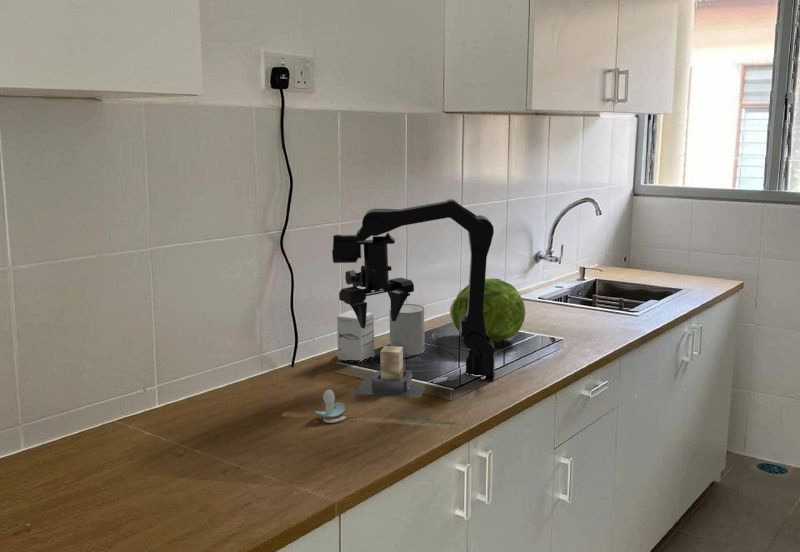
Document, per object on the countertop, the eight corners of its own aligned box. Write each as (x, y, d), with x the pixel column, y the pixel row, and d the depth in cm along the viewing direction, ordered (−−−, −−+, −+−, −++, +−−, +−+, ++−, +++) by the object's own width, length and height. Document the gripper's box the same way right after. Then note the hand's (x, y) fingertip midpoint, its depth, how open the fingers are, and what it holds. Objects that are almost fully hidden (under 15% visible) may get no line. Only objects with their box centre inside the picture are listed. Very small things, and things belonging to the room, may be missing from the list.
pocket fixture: (430, 380, 198) (430, 367, 197) (420, 401, 184) (420, 387, 184) (366, 377, 201) (366, 364, 200) (352, 396, 188) (352, 383, 187)
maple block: (403, 382, 194) (402, 346, 192) (399, 389, 190) (399, 352, 188) (385, 381, 195) (384, 345, 193) (381, 388, 191) (380, 351, 189)
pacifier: (354, 417, 176) (334, 410, 180) (354, 390, 175) (334, 383, 178) (331, 427, 171) (311, 420, 174) (330, 400, 169) (310, 392, 173)
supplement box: (337, 362, 213) (335, 315, 210) (351, 354, 219) (350, 309, 217) (361, 366, 210) (360, 318, 207) (375, 357, 216) (374, 312, 213)
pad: (460, 405, 181) (460, 403, 181) (454, 424, 171) (454, 422, 170) (412, 402, 183) (412, 400, 183) (403, 421, 173) (403, 418, 173)
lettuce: (475, 328, 244) (463, 271, 240) (540, 332, 228) (529, 271, 224) (435, 352, 231) (422, 292, 227) (502, 357, 215) (489, 293, 211)
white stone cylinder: (405, 359, 214) (405, 314, 212) (382, 351, 221) (381, 308, 219) (432, 352, 220) (431, 308, 218) (408, 344, 227) (408, 302, 225)
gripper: (387, 252, 206) (389, 311, 209) (325, 262, 195) (328, 325, 199) (414, 258, 197) (416, 320, 201) (350, 269, 187) (353, 334, 190)
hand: (378, 324), depth 198 cm, fingers open, 9 cm apart
